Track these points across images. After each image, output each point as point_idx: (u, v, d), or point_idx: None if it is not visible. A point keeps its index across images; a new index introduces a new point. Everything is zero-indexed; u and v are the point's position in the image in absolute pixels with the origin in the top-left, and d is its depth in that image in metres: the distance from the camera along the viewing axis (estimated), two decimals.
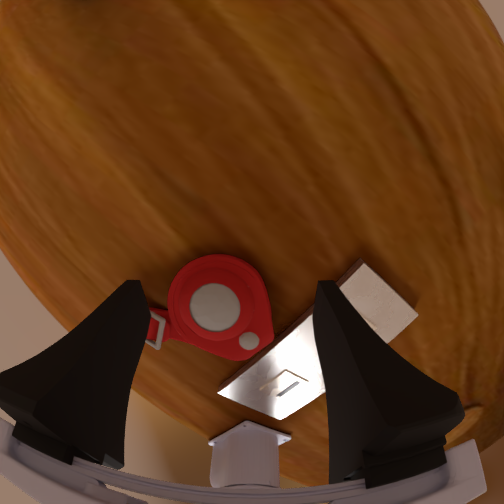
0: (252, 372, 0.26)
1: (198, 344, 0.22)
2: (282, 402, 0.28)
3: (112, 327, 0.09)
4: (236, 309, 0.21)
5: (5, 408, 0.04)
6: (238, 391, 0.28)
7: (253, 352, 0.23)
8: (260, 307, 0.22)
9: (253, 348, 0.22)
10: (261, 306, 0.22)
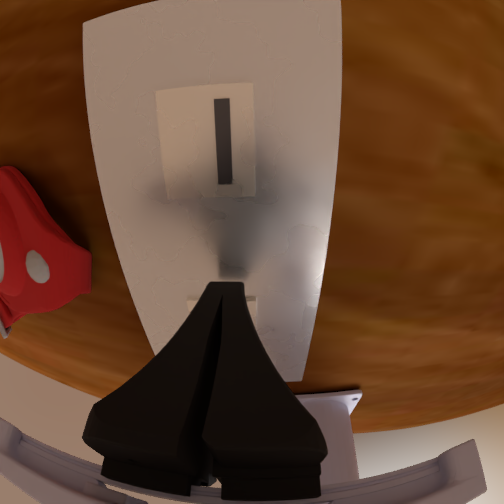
0: (153, 327, 0.14)
1: (19, 308, 0.11)
2: None
3: (213, 333, 0.08)
4: None
5: (105, 448, 0.04)
6: None
7: (59, 282, 0.11)
8: (16, 206, 0.09)
9: (48, 276, 0.10)
10: (16, 204, 0.09)
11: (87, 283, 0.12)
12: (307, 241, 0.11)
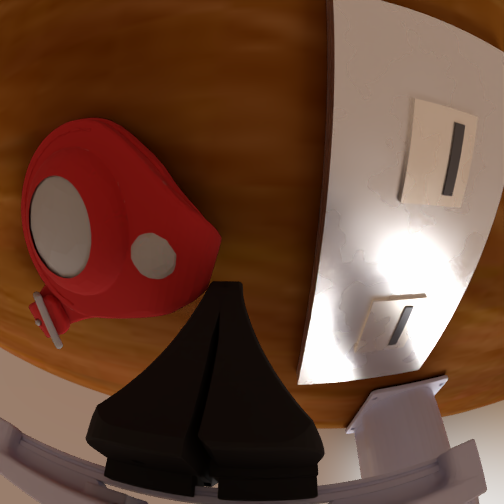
0: (319, 333, 0.14)
1: (94, 312, 0.10)
2: (405, 348, 0.15)
3: (216, 334, 0.08)
4: (77, 203, 0.08)
5: (109, 450, 0.04)
6: (324, 369, 0.16)
7: (186, 278, 0.10)
8: (124, 170, 0.08)
9: (173, 270, 0.09)
10: (125, 166, 0.08)
11: None
12: (474, 245, 0.11)
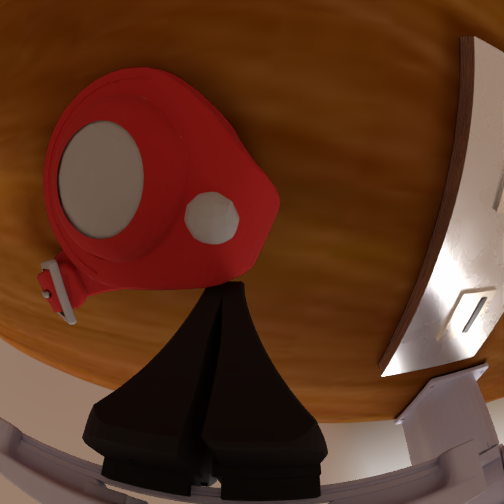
0: (417, 325, 0.14)
1: (123, 282, 0.10)
2: (470, 336, 0.15)
3: (213, 333, 0.08)
4: (130, 151, 0.07)
5: (105, 449, 0.04)
6: (408, 359, 0.16)
7: (244, 246, 0.09)
8: (190, 122, 0.08)
9: (233, 234, 0.09)
10: (191, 119, 0.08)
11: None
12: None
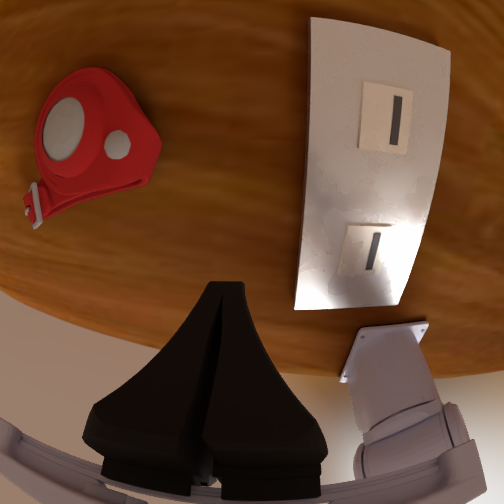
0: (309, 254, 0.19)
1: (72, 189, 0.14)
2: (381, 277, 0.20)
3: (213, 334, 0.08)
4: (79, 111, 0.12)
5: (105, 449, 0.04)
6: (315, 293, 0.21)
7: (134, 160, 0.14)
8: (110, 95, 0.12)
9: (127, 153, 0.13)
10: (111, 93, 0.12)
11: (152, 171, 0.15)
12: (425, 186, 0.16)
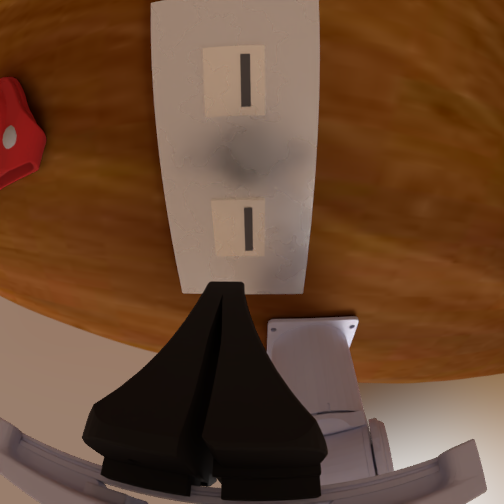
0: (179, 232, 0.18)
1: None
2: (270, 260, 0.19)
3: (213, 334, 0.08)
4: None
5: (105, 449, 0.04)
6: (198, 275, 0.20)
7: (19, 148, 0.13)
8: (9, 98, 0.11)
9: (14, 142, 0.12)
10: (9, 96, 0.11)
11: (37, 156, 0.14)
12: (301, 150, 0.15)
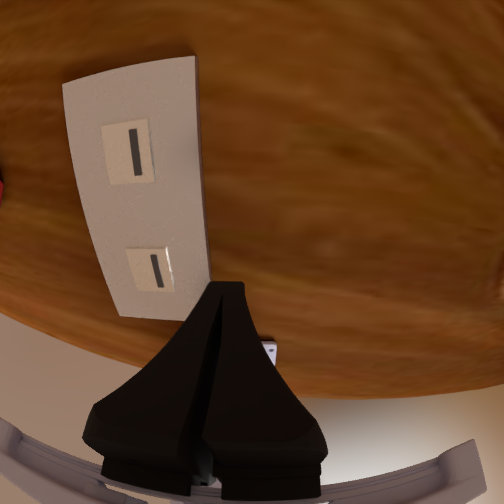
0: (108, 271, 0.21)
1: None
2: (180, 294, 0.22)
3: (213, 334, 0.08)
4: None
5: (105, 449, 0.04)
6: (128, 303, 0.23)
7: None
8: None
9: None
10: None
11: None
12: (189, 208, 0.18)
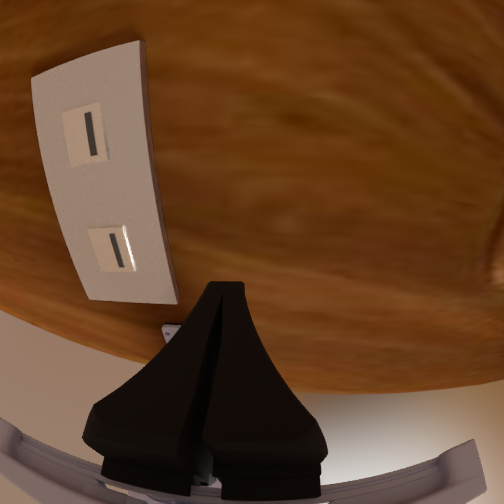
0: (74, 252, 0.20)
1: None
2: (141, 275, 0.22)
3: (213, 334, 0.08)
4: None
5: (105, 448, 0.04)
6: (95, 286, 0.22)
7: None
8: None
9: None
10: None
11: None
12: (141, 184, 0.17)
